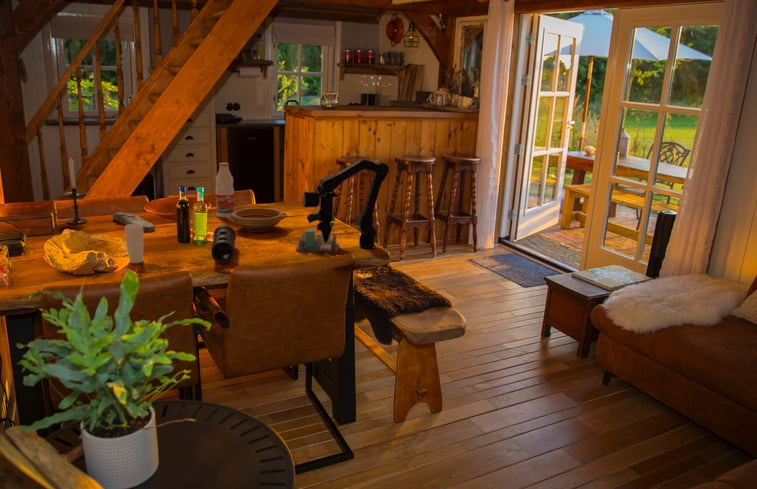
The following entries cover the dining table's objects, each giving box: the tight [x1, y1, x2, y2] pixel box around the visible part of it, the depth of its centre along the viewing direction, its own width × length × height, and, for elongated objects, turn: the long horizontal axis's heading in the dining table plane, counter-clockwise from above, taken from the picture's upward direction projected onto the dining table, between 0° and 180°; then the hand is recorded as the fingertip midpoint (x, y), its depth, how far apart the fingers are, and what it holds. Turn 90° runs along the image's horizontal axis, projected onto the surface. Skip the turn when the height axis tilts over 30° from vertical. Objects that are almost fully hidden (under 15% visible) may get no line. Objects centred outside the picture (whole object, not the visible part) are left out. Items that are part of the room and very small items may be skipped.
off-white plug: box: [320, 230, 332, 246], centre depth 268 cm, size 4×4×7 cm
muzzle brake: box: [210, 224, 237, 266], centre depth 253 cm, size 10×28×10 cm, turn 12°
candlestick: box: [61, 150, 88, 226], centre depth 289 cm, size 11×11×35 cm
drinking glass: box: [124, 224, 145, 264], centre depth 239 cm, size 7×7×15 cm
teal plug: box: [304, 228, 316, 247], centre depth 268 cm, size 4×4×7 cm
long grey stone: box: [112, 211, 156, 233], centre depth 294 cm, size 35×5×10 cm
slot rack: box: [295, 233, 340, 254], centre depth 269 cm, size 18×11×5 cm, turn 89°
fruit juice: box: [215, 162, 236, 219], centre depth 315 cm, size 9×9×28 cm
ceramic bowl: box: [227, 207, 288, 233], centre depth 296 cm, size 30×24×8 cm
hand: (326, 240), depth 268 cm, fingers closed on off-white plug, 4 cm apart
